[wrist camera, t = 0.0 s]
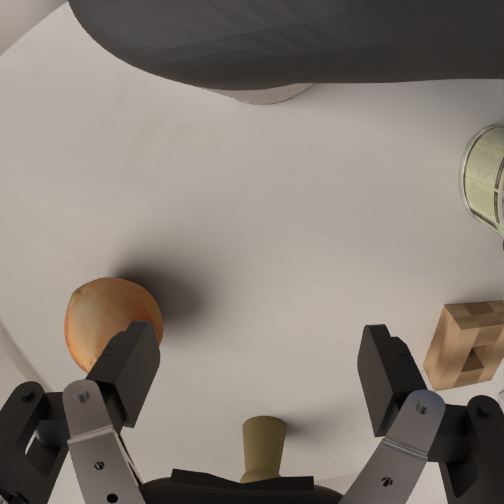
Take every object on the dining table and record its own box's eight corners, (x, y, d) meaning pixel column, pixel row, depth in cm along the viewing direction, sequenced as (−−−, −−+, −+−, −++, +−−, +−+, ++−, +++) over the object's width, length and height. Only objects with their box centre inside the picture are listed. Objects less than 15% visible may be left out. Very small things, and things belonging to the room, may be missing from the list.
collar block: (444, 305, 30) (461, 329, 26) (501, 300, 30) (519, 321, 26) (422, 365, 34) (434, 391, 30) (477, 357, 34) (491, 379, 30)
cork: (294, 422, 39) (295, 492, 29) (273, 442, 42) (271, 506, 32) (253, 411, 39) (248, 483, 29) (235, 432, 41) (227, 498, 31)
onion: (119, 238, 30) (65, 292, 20) (194, 306, 32) (168, 377, 23) (77, 293, 33) (30, 348, 24) (142, 349, 35) (112, 414, 26)
